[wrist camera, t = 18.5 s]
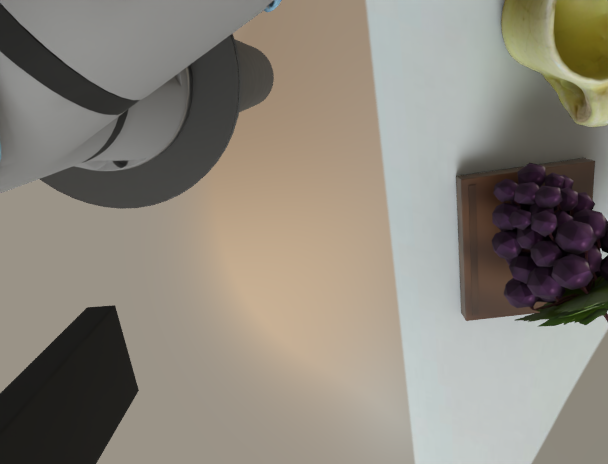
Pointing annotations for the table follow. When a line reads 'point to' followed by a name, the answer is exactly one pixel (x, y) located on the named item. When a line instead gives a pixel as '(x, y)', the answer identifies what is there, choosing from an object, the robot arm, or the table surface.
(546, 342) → the table surface
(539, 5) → the mug
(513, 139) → the table surface
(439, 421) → the table surface
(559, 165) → the cutting board
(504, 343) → the table surface
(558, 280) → the fruit
